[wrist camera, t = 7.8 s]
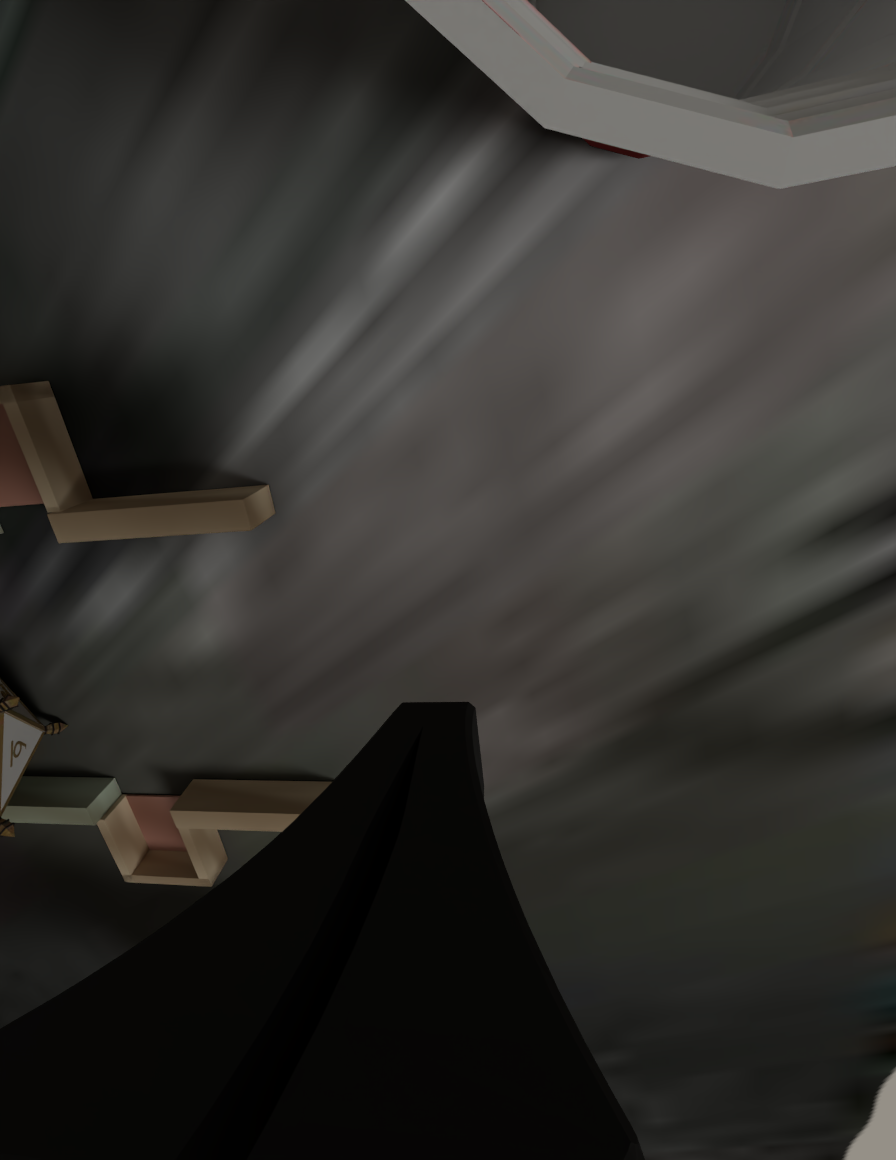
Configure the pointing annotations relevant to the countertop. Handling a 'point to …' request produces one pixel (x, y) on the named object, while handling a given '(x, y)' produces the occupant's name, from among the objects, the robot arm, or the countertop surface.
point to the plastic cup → (697, 78)
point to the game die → (17, 746)
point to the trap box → (54, 477)
